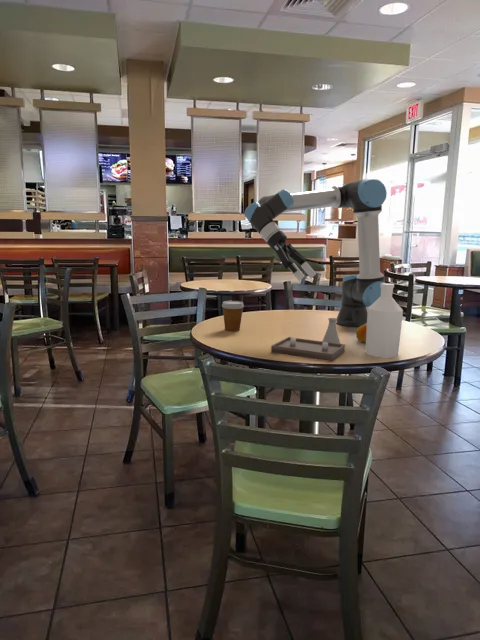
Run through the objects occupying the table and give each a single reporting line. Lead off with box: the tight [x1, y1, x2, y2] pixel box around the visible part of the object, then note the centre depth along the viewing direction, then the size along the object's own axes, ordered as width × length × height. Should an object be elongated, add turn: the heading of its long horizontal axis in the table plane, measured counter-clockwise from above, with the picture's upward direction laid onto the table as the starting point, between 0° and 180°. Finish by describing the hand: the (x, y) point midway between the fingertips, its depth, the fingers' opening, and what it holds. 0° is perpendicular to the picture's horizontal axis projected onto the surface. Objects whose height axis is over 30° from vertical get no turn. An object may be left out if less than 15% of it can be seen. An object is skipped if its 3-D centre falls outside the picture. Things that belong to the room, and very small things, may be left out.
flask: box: [321, 317, 341, 344], centre depth 179 cm, size 7×7×10 cm
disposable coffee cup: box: [221, 300, 245, 332], centre depth 200 cm, size 10×10×12 cm
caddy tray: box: [270, 336, 346, 362], centre depth 167 cm, size 16×22×4 cm
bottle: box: [364, 282, 404, 359], centre depth 165 cm, size 12×12×25 cm
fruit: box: [355, 323, 367, 344], centre depth 183 cm, size 8×8×8 cm
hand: (308, 277), depth 180 cm, fingers open, 13 cm apart
